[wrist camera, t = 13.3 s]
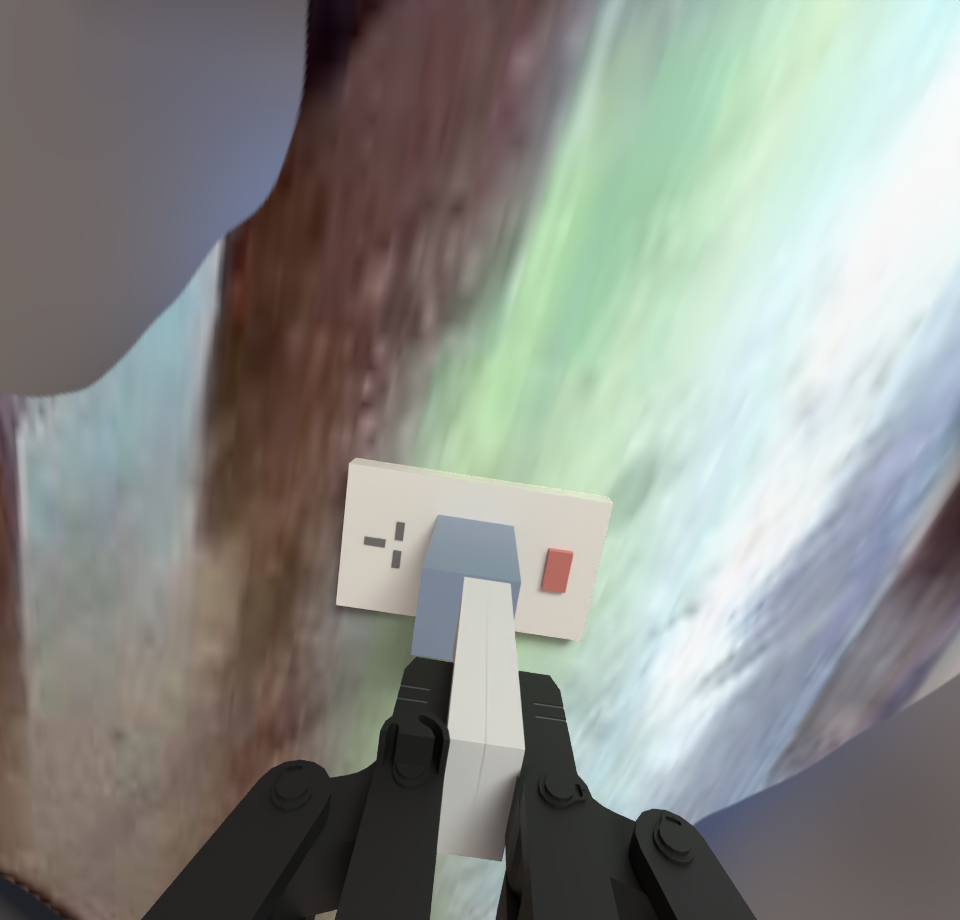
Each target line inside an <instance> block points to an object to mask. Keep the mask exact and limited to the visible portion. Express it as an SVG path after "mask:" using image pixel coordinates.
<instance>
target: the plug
mask: <svg viewBox="0 0 960 920" xmlns="http://www.w3.org/2000/svg"><path fill="white" fill-rule="evenodd" d="M464 577H469V578H476V579H483V580H490V581H496V582H503V583H510V584H511V594H512V605H513V616H514V618H515V613H516V608H517V602H518V597H519V592H520V586H521V577H520V569H519V562H518V554H517V547H516V539H515V532H514V526H510V525H504V524H497V523H490V522H484V521H477V520H471V519H464V518H458V517H451V516H444V515H438V518H437V521H436V524H435V527H434V531H433V534H432V537H431V540H430V544H429V547H428V550H427V553H426V557H425V560H424V563H423V567H422V573H421V580H420V587H419V595H418V602H417V609H416V617H415V624H414V631H413V639H412V646H411V653H410V655H415V656H421V657H428V658H435V659H442V660H449V661H451V660H452V652H453V645H454V639H455V633H456V627H457V620H458V614H459V608H460V601H461V595H462V589H463V582H464Z"/></svg>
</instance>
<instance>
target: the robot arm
mask: <svg viewBox="0 0 960 920" xmlns="http://www.w3.org/2000/svg"><path fill="white" fill-rule="evenodd" d="M504 848H506V871H505V876H504V881H503V885H502V890H501V895H500V899H499V904H498V909H497V915H496V920H757V919H756V918H755V916H754V915H753V913H752V912H751V910H750V909H749V907H748V905H747V904H746V903H745V901H744V899H743V898H742V896H741V895H740V893H739V892H738V890H737V889H736V887H735V886H734V884H733V883H732V881H731V879H730V878H729V876H728V875H727V873H726V872H725V870H724V869H723V867H722V866H721V864H720V863H719V861H718V859H717V858H716V856H715V855H714V853H713V852H712V850H711V849H710V847H709V846H708V844H707V843H706V841H705V840H704V838H703V837H702V836H701V835H700V834H699V832H698V831H697V830H696V829H695V828H694V827H693V826H692V825H691V824H690V823H688V822H687V821H686V820H684V819H683V818H682V817H680V816H678V815H676V814H674V813H671V812H669V811H667V810H660V809H650V810H648V811H645V812H642V813H641V815H640V816H639V817H638V819H637V820H636V822H635V821H633V820H630V819H628V818H626V817H624V816H622V815H619V814H617V813H615V812H613V811H611V810H609V809H607V808H605V807H604V806H602V805H601V804H599V803H598V802H597V801H596V800H594V799H593V798H592V796H591V794H590V792H589V789H588V787H587V785H586V784H585V783H584V782H583V780H582V779H581V778H580V777H579V776H578V774H577V771H576V766H575V761H574V756H573V751H572V746H571V742H570V737H569V732H568V727H567V723H566V717H565V712H564V709H563V702H562V697H561V692H560V689H559V688H558V687H557V685H556V684H555V682H554V681H553V680H552V678H551V677H550V675H543V674H536V673H529V672H523V671H518V662H517V651H516V639H515V628H514V616H513V605H512V594H511V584H510V583H503V582H496V581H490V580H483V579H476V578H469V577H464V582H463V589H462V595H461V601H460V608H459V614H458V620H457V627H456V633H455V639H454V645H453V652H452V660H451V662H445V661H438V660H431V659H425V658H418V657H416V658H415V659H414V660H413V661H412V662H411V663H410V664H409V665H408V666H407V667H406V668H405V670H404V674H403V678H402V682H401V686H400V689H399V693H398V697H397V701H396V704H395V708H394V712H393V716H391V717H390V718H389V719H388V720H386V721H385V723H384V725H383V727H382V728H381V730H380V736H379V744H378V752H377V760H376V761H375V762H374V763H373V764H371V765H370V766H369V767H368V768H366V769H364V770H362V771H360V772H357V773H354V774H350V775H345V776H339V777H333V778H330V777H329V776H328V774H327V772H326V771H325V769H324V768H322V767H321V766H319V765H318V764H316V763H315V762H310V761H305V760H295V761H288V762H285V763H282V764H280V765H278V766H276V767H274V768H272V769H270V770H269V771H268V772H267V773H266V774H265V775H264V776H262V777H261V778H260V779H259V780H258V782H257V783H256V784H255V785H254V786H253V787H252V789H251V790H250V791H249V792H248V793H247V795H246V796H245V797H244V798H243V799H242V801H241V802H240V803H239V804H238V805H237V806H236V808H235V809H234V810H233V811H232V812H231V814H230V815H229V816H228V817H227V818H226V820H225V821H224V822H223V823H222V824H221V825H220V827H219V828H218V829H217V830H216V831H215V833H214V834H213V835H212V836H211V837H210V839H209V840H208V841H207V842H206V843H205V844H204V846H203V847H202V848H201V849H200V850H199V852H198V853H197V854H196V855H195V856H194V858H193V859H192V860H191V861H190V862H189V863H188V865H187V866H186V867H185V868H184V869H183V871H182V872H181V873H180V874H179V875H178V877H177V878H176V879H175V880H174V881H173V882H172V884H171V885H170V886H169V887H168V888H167V890H166V891H165V892H164V893H163V894H162V896H161V897H160V898H159V899H158V900H157V901H156V903H155V904H154V905H153V906H152V907H151V909H150V910H149V911H148V912H147V913H146V915H145V916H144V917H143V918H142V919H141V920H314V919H315V916H316V914H320V913H324V912H328V911H332V910H336V909H337V913H336V917H335V920H430V912H431V902H432V892H433V882H434V873H435V863H436V853H437V852H439V853H446V854H453V855H460V856H467V857H474V858H481V859H488V860H495V861H502V858H503V853H504Z"/></svg>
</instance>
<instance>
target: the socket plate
mask: <svg viewBox="0 0 960 920" xmlns="http://www.w3.org/2000/svg"><path fill="white" fill-rule="evenodd" d="M612 506H613V503H612V502H611V500H610V499H609V498H608V496H602V495H595V494H589V493H582V492H576V491H569V490H563V489H556V488H550V487H543V486H536V485H530V484H523V483H517V482H510V481H504V480H497V479H491V478H484V477H478V476H471V475H465V474H458V473H452V472H445V471H438V470H432V469H425V468H419V467H412V466H406V465H399V464H393V463H386V462H380V461H373V460H367V459H360V458H355V459H354V460H353V461H351V462H350V463H349V471H348V482H347V493H346V503H345V514H344V525H343V536H342V546H341V557H340V568H339V578H338V589H337V600H336V605H340V606H347V607H354V608H361V609H367V610H374V611H381V612H388V613H394V614H401V615H408V616H415V617H416V609H417V602H418V595H419V587H420V580H421V573H422V567H423V563H424V560H425V557H426V553H427V550H428V547H429V544H430V540H431V537H432V534H433V531H434V527H435V524H436V521H437V518H438V515H444V516H451V517H458V518H464V519H471V520H477V521H484V522H490V523H497V524H504V525H510V526H514V532H515V539H516V547H517V554H518V562H519V569H520V577H521V586H520V592H519V597H518V602H517V608H516V613H515V618H514V628H515V631H516V632H522V633H529V634H536V635H543V636H549V637H556V638H563V639H570V640H576V641H582V638H583V634H584V629H585V625H586V621H587V616H588V612H589V607H590V603H591V599H592V594H593V590H594V585H595V581H596V577H597V572H598V568H599V563H600V559H601V555H602V550H603V546H604V541H605V537H606V533H607V528H608V524H609V519H610V515H611V511H612Z"/></svg>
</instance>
